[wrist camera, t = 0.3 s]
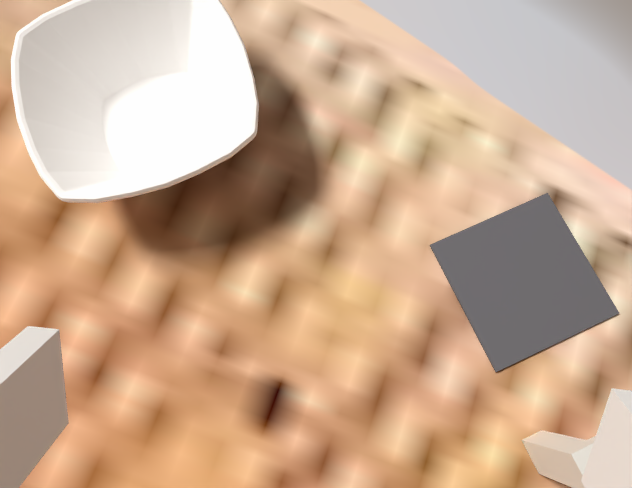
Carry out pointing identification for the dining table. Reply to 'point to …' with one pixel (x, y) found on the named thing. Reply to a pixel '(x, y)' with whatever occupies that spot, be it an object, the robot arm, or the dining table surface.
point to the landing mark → (523, 281)
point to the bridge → (559, 456)
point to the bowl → (131, 95)
